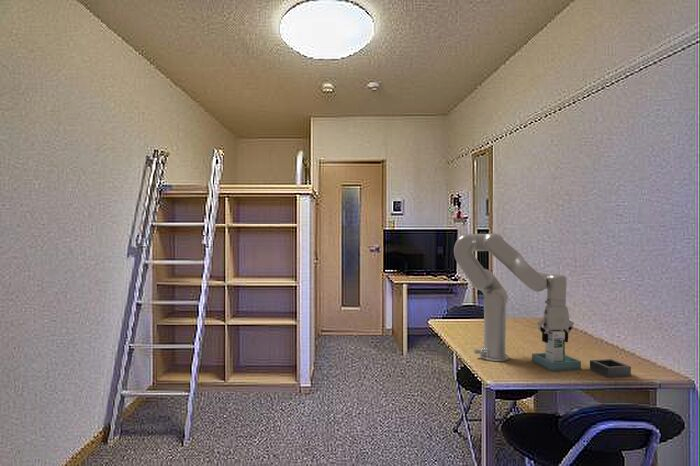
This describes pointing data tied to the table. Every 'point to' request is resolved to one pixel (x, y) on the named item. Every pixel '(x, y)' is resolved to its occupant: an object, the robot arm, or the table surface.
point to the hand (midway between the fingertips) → (554, 341)
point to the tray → (556, 363)
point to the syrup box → (555, 346)
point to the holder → (610, 368)
